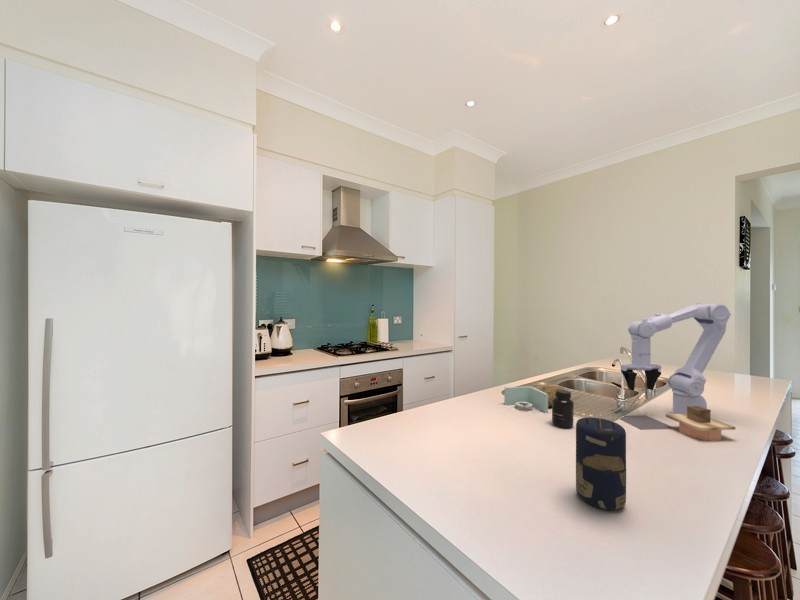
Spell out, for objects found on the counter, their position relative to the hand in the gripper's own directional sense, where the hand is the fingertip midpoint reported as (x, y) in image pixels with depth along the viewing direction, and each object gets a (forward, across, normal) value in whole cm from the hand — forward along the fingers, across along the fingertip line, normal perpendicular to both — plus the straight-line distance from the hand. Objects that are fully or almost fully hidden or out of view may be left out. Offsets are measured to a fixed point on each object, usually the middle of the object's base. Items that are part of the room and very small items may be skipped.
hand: (640, 389), depth 124 cm
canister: (+11, -50, -48) cm, 70 cm away
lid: (+6, +6, -17) cm, 19 cm away
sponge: (+11, -25, +20) cm, 33 cm away
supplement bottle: (+11, -34, -6) cm, 36 cm away
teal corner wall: (+11, -39, +12) cm, 42 cm away
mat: (+10, -4, -6) cm, 13 cm away
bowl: (+10, +6, -17) cm, 21 cm away
